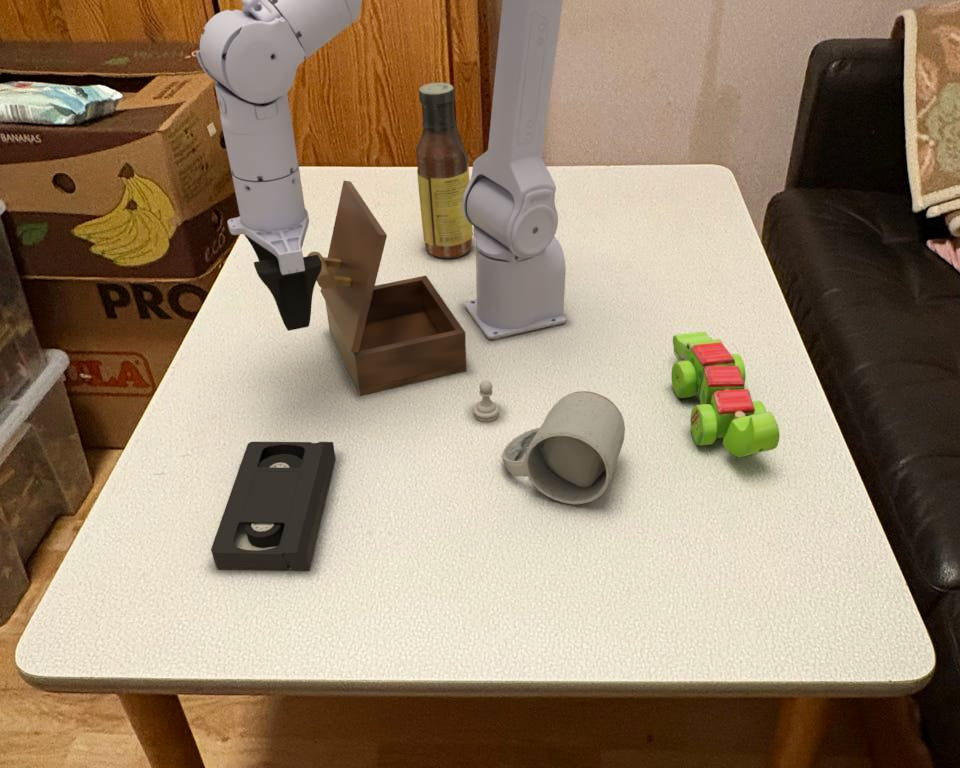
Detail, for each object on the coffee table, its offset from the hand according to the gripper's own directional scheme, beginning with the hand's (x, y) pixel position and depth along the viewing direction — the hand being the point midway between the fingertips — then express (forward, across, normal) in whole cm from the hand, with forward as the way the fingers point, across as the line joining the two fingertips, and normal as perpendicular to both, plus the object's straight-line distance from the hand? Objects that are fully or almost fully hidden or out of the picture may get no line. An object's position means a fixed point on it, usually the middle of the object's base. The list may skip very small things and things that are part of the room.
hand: (289, 306), depth 87 cm
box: (+10, -3, +11) cm, 15 cm away
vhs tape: (+10, +17, -6) cm, 20 cm away
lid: (-1, -3, +7) cm, 8 cm away
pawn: (+10, +11, +16) cm, 22 cm away
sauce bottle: (+10, -24, +24) cm, 35 cm away
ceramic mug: (+10, +22, +19) cm, 31 cm away
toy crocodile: (+10, +19, +37) cm, 43 cm away
